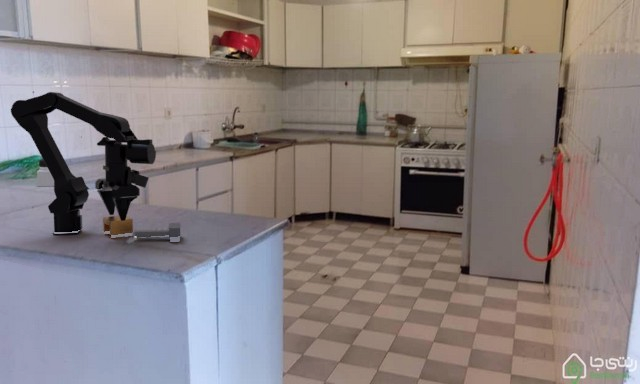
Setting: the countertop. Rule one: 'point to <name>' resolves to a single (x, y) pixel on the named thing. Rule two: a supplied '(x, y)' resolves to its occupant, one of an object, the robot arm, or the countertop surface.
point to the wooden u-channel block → (117, 225)
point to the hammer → (160, 231)
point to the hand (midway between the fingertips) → (117, 217)
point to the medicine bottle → (44, 176)
